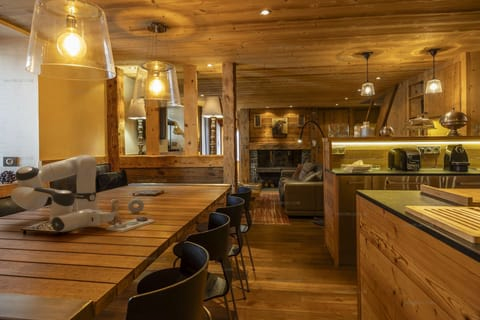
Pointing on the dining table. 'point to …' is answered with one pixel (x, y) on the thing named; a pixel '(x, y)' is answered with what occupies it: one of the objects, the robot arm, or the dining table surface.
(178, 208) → the dining table surface
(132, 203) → the donut
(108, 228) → the gear board
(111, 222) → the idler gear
